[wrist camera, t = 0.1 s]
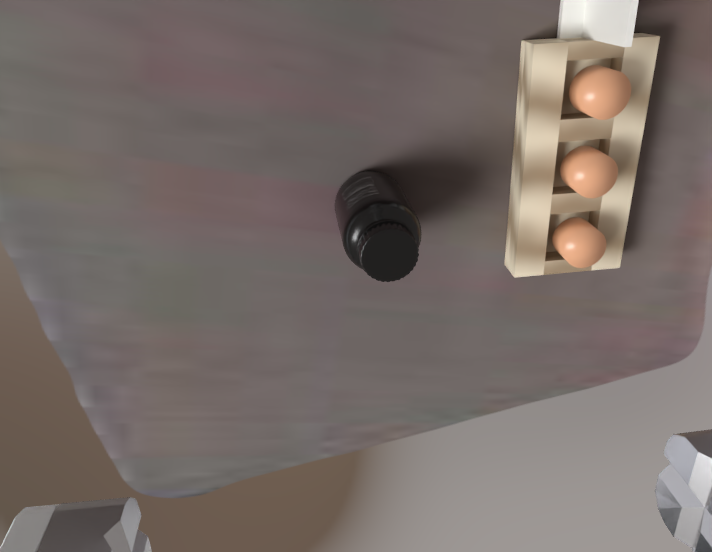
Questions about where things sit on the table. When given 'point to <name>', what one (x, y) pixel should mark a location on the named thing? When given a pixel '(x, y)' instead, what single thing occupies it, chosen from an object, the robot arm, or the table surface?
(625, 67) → the wooden egg tray
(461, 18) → the table surface
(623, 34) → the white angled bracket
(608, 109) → the button
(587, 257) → the button
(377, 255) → the supplement bottle
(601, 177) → the button mid
